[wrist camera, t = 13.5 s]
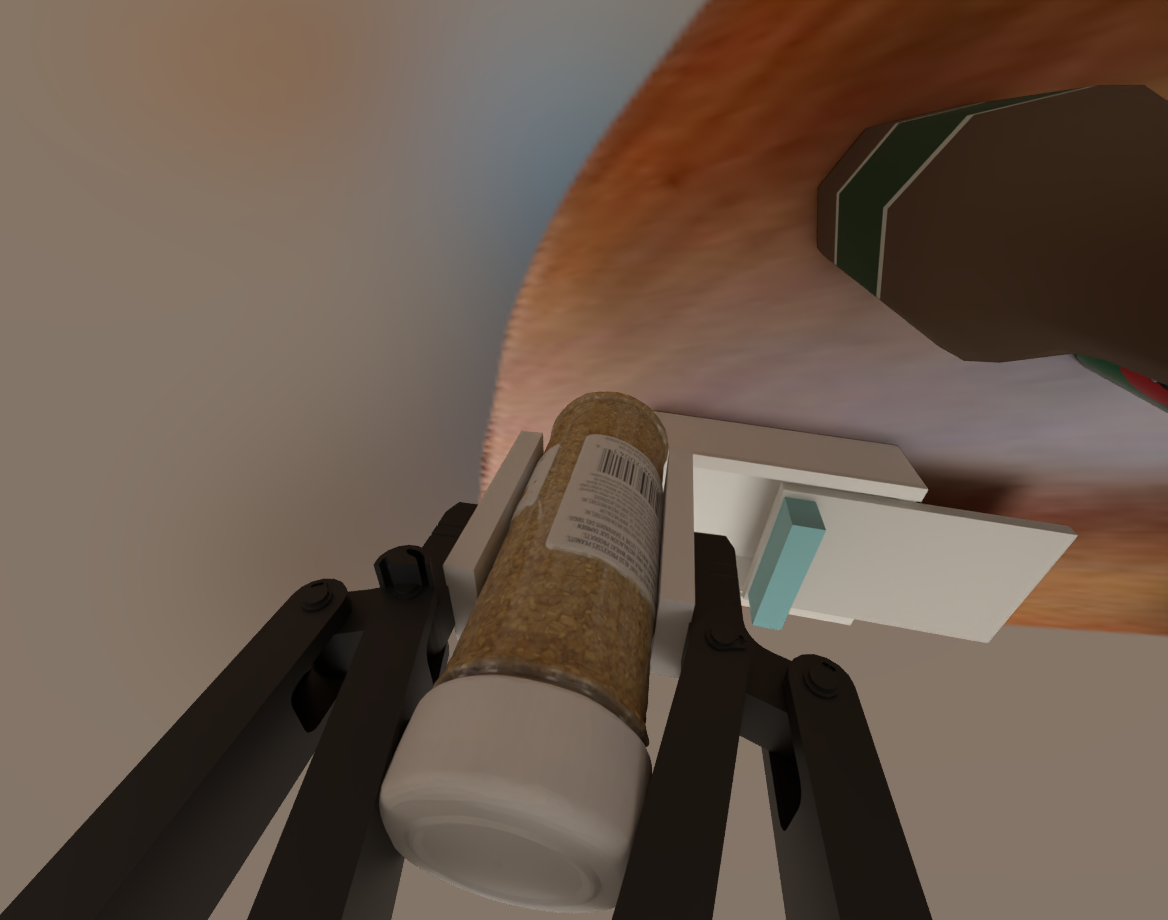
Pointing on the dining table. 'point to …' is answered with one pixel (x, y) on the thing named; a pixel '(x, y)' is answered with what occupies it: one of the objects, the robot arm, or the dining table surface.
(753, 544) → the mailer box
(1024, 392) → the dining table surface
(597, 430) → the sprinkles bottle
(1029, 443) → the dining table surface
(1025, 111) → the beer bottle
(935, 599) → the lid
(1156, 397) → the soda can
